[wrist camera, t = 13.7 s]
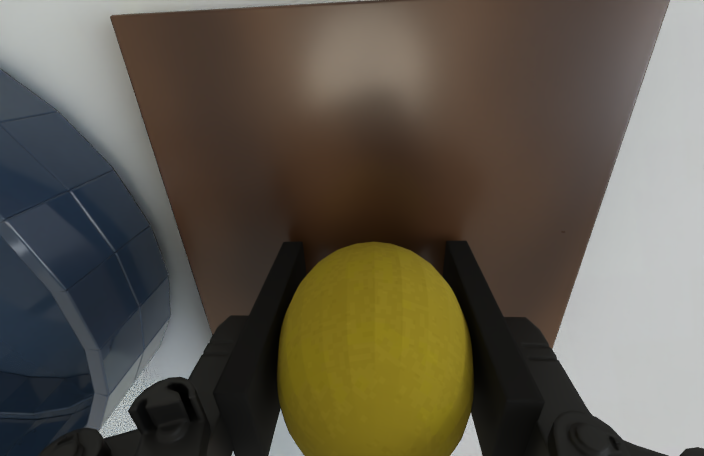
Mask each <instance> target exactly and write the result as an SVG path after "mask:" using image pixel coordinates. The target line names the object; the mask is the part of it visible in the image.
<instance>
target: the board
mask: <svg viewBox="0 0 704 456" xmlns="http://www.w3.org/2000/svg"><path fill="white" fill-rule="evenodd" d="M669 2H670V0H370V1H352V2H335V3H317V4H299V5H281V6H264V7H246V8H228V9H210V10H193V11H175V12H157V13H139V14H122V15H112V16H110V18H111V22H112V25H113V28H114V31H115V34H116V37H117V40H118V43H119V46H120V49H121V53H122V56H123V59H124V62H125V65H126V68H127V71H128V74H129V77H130V80H131V84H132V87H133V90H134V93H135V96H136V99H137V102H138V105H139V108H140V112H141V115H142V118H143V121H144V124H145V127H146V130H147V133H148V136H149V139H150V143H151V146H152V149H153V152H154V155H155V158H156V161H157V164H158V167H159V171H160V174H161V177H162V180H163V183H164V186H165V189H166V192H167V195H168V198H169V202H170V205H171V208H172V211H173V214H174V217H175V220H176V223H177V226H178V230H179V233H180V236H181V239H182V242H183V245H184V248H185V251H186V254H187V257H188V261H189V264H190V267H191V270H192V273H193V276H194V279H195V282H196V285H197V289H198V292H199V295H200V298H201V301H202V304H203V307H204V310H205V313H206V316H207V320H208V323H209V326H210V329H211V332H212V335H213V334H214V332H215V331H216V329H217V327H218V326H219V325H220V324H221V323H222V322H224V321H225V320H226V319H227V318H228V317H229V316H230V315H249V314H250V312H251V310H252V308H253V306H254V303H255V301H256V299H257V297H258V295H259V293H260V291H261V288H262V286H263V284H264V282H265V280H266V278H267V276H268V274H269V271H270V269H271V267H272V265H273V263H274V261H275V259H276V257H277V254H278V252H279V250H280V248H281V246H282V244H283V242H303V249H304V257H305V265H306V273H307V274H308V273H309V272H310V271H311V270H312V269H313V268H314V267H315V266H316V264H317V263H318V262H320V261H321V260H322V259H324V258H325V257H327V256H328V255H330V254H332V253H333V252H335V251H336V250H338V249H341V248H344V247H347V246H350V245H353V244H357V243H366V242H381V243H390V244H394V245H397V246H399V247H402V248H405V249H408V250H411V251H412V252H414V253H415V254H417V255H418V256H420V257H422V258H423V259H425V260H426V261H427V262H429V263H430V264H431V265H432V266H433V267H434V268H435V269H436V270H437V272H438V273H439V274H440V275H441V276H443V267H444V257H445V248H446V241H467V242H468V244H469V246H470V249H471V251H472V253H473V255H474V257H475V259H476V261H477V263H478V265H479V267H480V269H481V271H482V273H483V275H484V277H485V279H486V281H487V283H488V286H489V288H490V290H491V292H492V294H493V296H494V298H495V300H496V302H497V304H498V306H499V308H500V310H501V312H502V314H503V316H504V317H526V318H527V319H528V320H530V321H531V322H532V323H533V324H534V325H535V326H537V327H538V328H539V329H540V330H541V332H542V333H543V335H544V337H545V338H546V340H547V342H548V344H549V347H550V348H551V349H552V348H553V345H554V342H555V339H556V336H557V333H558V330H559V327H560V324H561V321H562V318H563V316H564V313H565V310H566V307H567V304H568V301H569V298H570V295H571V292H572V289H573V286H574V283H575V280H576V277H577V274H578V271H579V268H580V265H581V262H582V259H583V256H584V253H585V250H586V247H587V244H588V241H589V239H590V236H591V233H592V230H593V227H594V224H595V221H596V218H597V215H598V212H599V209H600V206H601V203H602V200H603V197H604V194H605V191H606V188H607V185H608V182H609V179H610V176H611V173H612V170H613V167H614V164H615V162H616V159H617V156H618V153H619V150H620V147H621V144H622V141H623V138H624V135H625V132H626V129H627V126H628V123H629V120H630V117H631V114H632V111H633V108H634V105H635V102H636V99H637V96H638V93H639V90H640V87H641V85H642V82H643V79H644V76H645V73H646V70H647V67H648V64H649V61H650V58H651V55H652V52H653V49H654V46H655V43H656V40H657V37H658V34H659V31H660V28H661V25H662V22H663V19H664V16H665V13H666V11H667V8H668V5H669Z"/></svg>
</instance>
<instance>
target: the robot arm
mask: <svg viewBox="0 0 704 456" xmlns="http://www.w3.org/2000/svg"><path fill="white" fill-rule="evenodd" d="M306 275H307V273H306V265H305V257H304V249H303V242H283V244H282V246H281V248H280V250H279V252H278V254H277V257H276V259H275V261H274V263H273V265H272V267H271V269H270V271H269V274H268V276H267V278H266V280H265V282H264V284H263V286H262V288H261V291H260V293H259V295H258V297H257V299H256V301H255V303H254V306H253V308H252V310H251V312H250V314H249V315H230V316H229V317H228V318H227V319H226V320H225V321H224V322H222V323H221V324H220V325H219V326H218V327H217V329H216V331H215V332H214V334H213V336H212V338H211V339H210V343H208V345H207V347H206V348H205V350H204V353H203V355H201V357H200V359H199V361H198V363H197V364H196V366H195V368H194V370H193V371H192V373H191V375H190V377H189V379H185V378H182V377H173V378H167V379H165V380H162V381H159V382H157V383H155V384H153V385H152V386H150V387H148V388H147V389H145V390H144V391H143V392H142V393H141V394H140V395H139V396H138V397H137V398H136V399H135V400H134V402H133V404H132V405H131V407H130V409H129V410H128V412H129V414H130V415H131V417H132V419H133V421H134V423H135V424H136V426H137V428H138V429H136V430H133V431H129V432H125V433H122V434H118V435H115V436H111V437H108V438H104V439H103V437H102V436H101V434H100V433H99V432H98V430H97V429H92V428H88V427H87V428H82V429H76V430H73V431H71V432H69V433H67V434H65V435H62V436H60V437H59V438H58V439H56V440H55V441H53V442H52V443H51V444H49V445H48V446H46V447H45V448H44V449H43V450H42V452H41V453H40V454H39V455H38V456H231V455H232V452H233V451H234V454H235V456H268V454H269V451H270V447H271V443H272V439H273V435H274V431H275V427H276V424H277V420H278V416H279V412H280V408H281V407H280V402H279V397H278V391H277V361H278V349H279V339H280V333H281V327H282V323H283V319H284V317H285V314H286V311H287V309H288V307H289V305H290V302H291V300H292V298H293V296H294V294H295V292H296V290H297V288H298V286H299V285H300V283H301V281H302V280H303V279H304V278H305V277H306ZM442 277H443V278H444V279H445V281H446V282H447V283H448V284H449V286H450V287H451V289H452V290H453V292H454V294H455V296H456V298H457V301H458V303H459V305H460V308H461V310H462V312H463V314H464V317H465V320H466V322H467V325H468V329H469V333H470V338H471V344H472V355H473V369H474V395H473V403H472V408H471V414H472V417H473V421H474V425H475V429H476V432H477V436H478V440H479V444H480V447H481V451H482V455H483V456H668V455H665V454H661V453H658V452H655V451H652V450H649V449H646V448H643V447H639V446H636V445H634V444H631V443H629V442H627V441H624V440H622V438H621V437H620V436H619V435H618V434H617V433H616V432H615V431H614V430H613V429H612V428H611V427H610V426H609V425H607V424H606V423H604V422H603V421H601V420H600V419H598V418H597V417H594V416H592V414H591V413H590V412H589V410H588V409H587V407H586V406H585V404H584V402H583V401H582V399H581V397H580V396H579V394H578V392H577V391H576V389H575V387H574V386H573V384H572V382H571V381H570V379H569V377H568V375H567V374H566V372H565V370H564V369H563V367H562V365H561V364H560V362H559V360H557V357H556V355H555V354H554V352H553V350H552V349H551V348H550V347H549V344H548V342H547V340H546V338H545V337H544V335H543V333H542V332H541V330H540V329H539V328H538V327H537V326H535V325H534V324H533V323H532V322H531V321H530V320H528V319H527V318H526V317H504V316H503V314H502V312H501V310H500V308H499V306H498V304H497V302H496V300H495V298H494V296H493V294H492V292H491V290H490V288H489V286H488V283H487V281H486V279H485V277H484V275H483V273H482V271H481V269H480V267H479V265H478V263H477V261H476V259H475V257H474V255H473V253H472V251H471V249H470V246H469V244H468V242H467V241H446V248H445V257H444V267H443V276H442ZM680 456H704V449H703V448H699V447H696V448H689V449H685V450H684V452H683V453H682V454H681V455H680Z"/></svg>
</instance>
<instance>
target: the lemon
mask: <svg viewBox="0 0 704 456" xmlns="http://www.w3.org/2000/svg"><path fill="white" fill-rule="evenodd" d="M277 391H278V397H279V402H280V407H281V410H282V414H283V417H284V420H285V423H286V426H287V428H288V431H289V433H290V435H291V436H292V438H293V440H294V441H295V443H296V444H297V446H298V447H299V449H300V450H301V452H302V453H303V454H304V455H305V456H450V455H451V453H452V452H453V451H454V450H455V448H456V446H457V445H458V443H459V442H460V440H461V439H462V436H463V433H464V431H465V428H466V425H467V422H468V419H469V416H470V413H471V408H472V403H473V395H474V369H473V355H472V344H471V338H470V333H469V329H468V325H467V322H466V320H465V317H464V314H463V312H462V310H461V308H460V305H459V303H458V301H457V298H456V296H455V294H454V292H453V290H452V289H451V287H450V286H449V284H448V283H447V282H446V281H445V279H444V278H443V277H442V276H441V275H440V274H439V273H438V272H437V270H436V269H435V268H434V267H433V266H432V265H431V264H430V263H429V262H427V261H426V260H425V259H423V258H422V257H420V256H418V255H417V254H415V253H414V252H412V251H411V250H408V249H405V248H402V247H399V246H397V245H394V244H390V243H381V242H366V243H357V244H353V245H350V246H347V247H344V248H341V249H338V250H336V251H335V252H333V253H332V254H330V255H328V256H327V257H325V258H324V259H322V260H321V261H320V262H318V263H317V264H316V266H315V267H314V268H313V269H312V270H311V271H310V272H309V273H308V274H307V275H306V277H305V278H304V279H303V280H302V281H301V283H300V285H299V286H298V288H297V290H296V292H295V294H294V296H293V298H292V300H291V302H290V305H289V307H288V309H287V311H286V314H285V317H284V319H283V323H282V327H281V333H280V339H279V349H278V361H277Z"/></svg>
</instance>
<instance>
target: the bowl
mask: <svg viewBox="0 0 704 456" xmlns="http://www.w3.org/2000/svg"><path fill="white" fill-rule="evenodd" d="M149 225H150V224H149V222H148V221H147V219H146V218H145V216H144V215H143V213H142V212H141V210H140V208H139V207H138V205H137V204H136V202H135V201H134V199H133V198H132V196H131V195H130V193H129V192H128V190H127V189H126V187H125V186H124V184H123V182H122V181H121V179H120V178H119V176H118V175H117V173H116V172H115V171H113V168H112V166H111V165H110V164H109V163H108V162H107V161H106V160H105V159H104V158H103V157H102V156H101V155H100V154H99V153H98V152H97V151H96V150H95V149H94V148H93V147H92V146H91V145H90V144H89V143H88V142H87V141H86V140H85V138H84V137H83V136H82V135H81V134H80V133H79V132H78V131H77V130H76V129H75V128H74V127H73V126H72V125H71V124H70V123H69V122H68V121H67V120H66V119H65V118H64V117H63V116H62V115H61V114H60V113H59V112H57V110H56V109H55V108H53V107H52V106H50V105H49V104H48V103H46V102H45V101H44V100H42V99H41V98H40V97H38V96H37V95H35V94H34V93H33V92H31V91H30V90H29V89H27V88H26V87H25V86H23V85H22V84H20V83H19V82H18V81H16V80H15V79H14V78H12V77H11V76H10V75H8V74H7V73H5V72H4V71H3V70H1V69H0V456H38V455H39V454H40V453H41V452H42V450H43V449H44V448H45V447H46V446H48V445H49V444H51V443H52V442H53V441H55V440H56V439H58V438H59V437H60V436H62V435H65V434H67V433H69V432H71V431H73V430H76V429H82V428H87V427H88V428H92V429H97V430H98V431H99V430H100V429H101V428H102V426H103V425H104V424H105V422H106V421H107V419H108V418H109V417H110V415H111V414H112V413H113V411H114V410H115V408H116V407H117V406H118V404H119V403H120V402H121V400H122V399H123V397H124V396H125V395H126V393H127V392H128V390H129V389H130V388H131V386H132V385H133V383H134V382H135V381H136V379H137V378H138V377H139V375H140V374H141V372H142V371H143V370H144V368H145V367H146V366H147V364H148V363H149V361H150V360H151V359H152V357H153V356H154V354H155V353H156V352H157V350H158V349H159V347H160V345H161V342H162V339H163V337H164V334H165V331H166V328H167V325H168V322H169V319H170V314H171V313H170V293H169V276H168V271H167V269H166V266H165V263H164V260H163V258H162V255H161V252H160V249H159V247H158V244H157V241H156V238H155V236H154V233H153V230H152V227H151V226H149Z"/></svg>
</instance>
